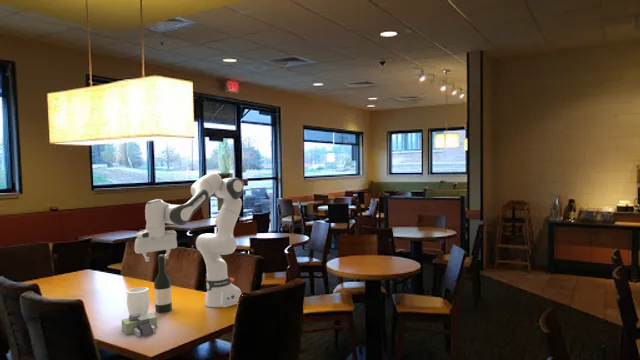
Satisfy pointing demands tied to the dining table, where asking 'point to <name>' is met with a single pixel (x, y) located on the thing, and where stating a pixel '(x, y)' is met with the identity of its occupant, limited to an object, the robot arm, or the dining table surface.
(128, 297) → the jar
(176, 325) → the dining table surface
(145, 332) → the upright grey box
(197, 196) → the robot arm
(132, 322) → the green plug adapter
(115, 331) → the dining table surface
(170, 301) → the wine bottle
